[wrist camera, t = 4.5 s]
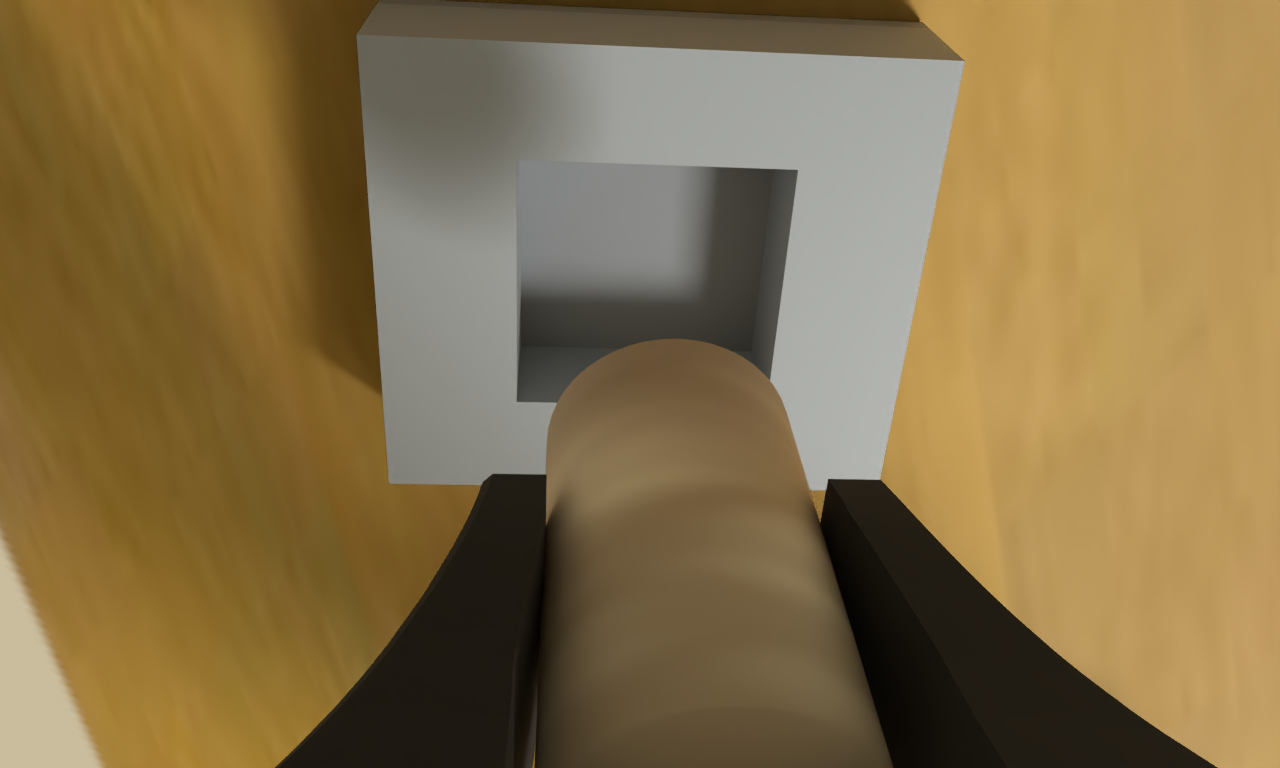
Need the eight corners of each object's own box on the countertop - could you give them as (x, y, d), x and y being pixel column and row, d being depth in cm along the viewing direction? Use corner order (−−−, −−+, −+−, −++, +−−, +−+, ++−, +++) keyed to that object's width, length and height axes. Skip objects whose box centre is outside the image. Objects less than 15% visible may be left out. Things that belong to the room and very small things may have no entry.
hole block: (922, 22, 19) (964, 61, 17) (850, 421, 23) (877, 491, 21) (380, -3, 18) (356, 34, 16) (405, 412, 22) (389, 484, 20)
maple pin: (805, 343, 14) (939, 708, 9) (772, 543, 16) (868, 947, 11) (549, 333, 14) (536, 703, 9) (543, 537, 16) (529, 950, 10)
